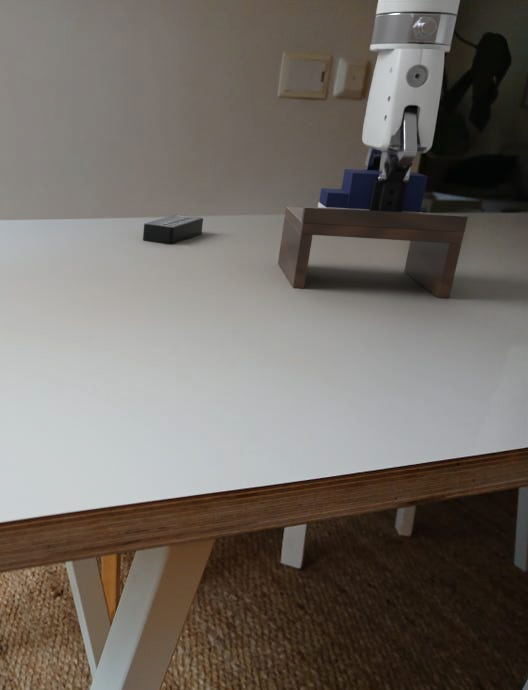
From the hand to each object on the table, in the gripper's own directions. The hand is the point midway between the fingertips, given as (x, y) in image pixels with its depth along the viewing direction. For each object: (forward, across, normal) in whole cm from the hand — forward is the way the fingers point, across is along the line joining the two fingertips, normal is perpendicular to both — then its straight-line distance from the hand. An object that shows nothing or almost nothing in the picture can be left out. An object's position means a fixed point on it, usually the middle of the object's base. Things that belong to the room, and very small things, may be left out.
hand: (377, 214), depth 82 cm
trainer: (+1, 0, +1) cm, 1 cm away
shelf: (+8, 0, +1) cm, 8 cm away
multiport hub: (+8, +20, +22) cm, 30 cm away
